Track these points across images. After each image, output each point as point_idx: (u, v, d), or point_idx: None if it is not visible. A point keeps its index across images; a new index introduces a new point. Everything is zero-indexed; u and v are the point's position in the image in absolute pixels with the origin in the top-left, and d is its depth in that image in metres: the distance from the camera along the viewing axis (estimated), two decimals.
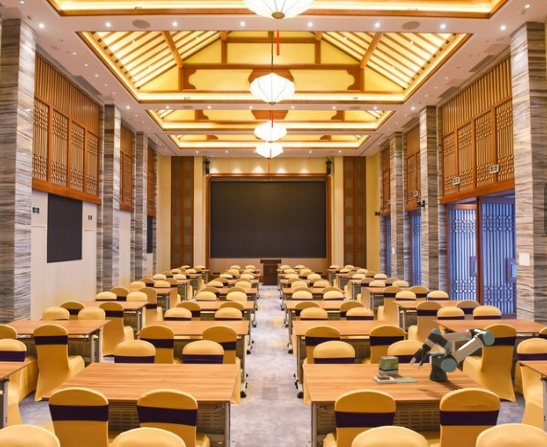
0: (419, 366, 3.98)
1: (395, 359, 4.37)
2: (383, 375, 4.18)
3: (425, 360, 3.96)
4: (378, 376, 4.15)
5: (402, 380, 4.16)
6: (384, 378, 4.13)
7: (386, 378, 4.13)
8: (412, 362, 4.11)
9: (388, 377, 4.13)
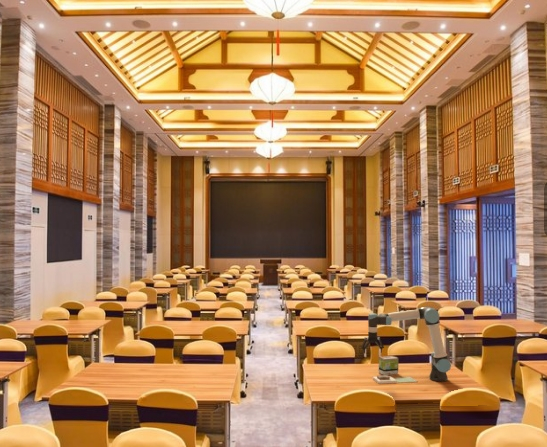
0: (364, 354, 4.14)
1: (395, 359, 4.37)
2: (383, 375, 4.18)
3: (362, 346, 4.13)
4: (378, 376, 4.15)
5: (402, 380, 4.16)
6: (384, 378, 4.13)
7: (386, 378, 4.13)
8: (379, 353, 4.16)
9: (388, 377, 4.13)
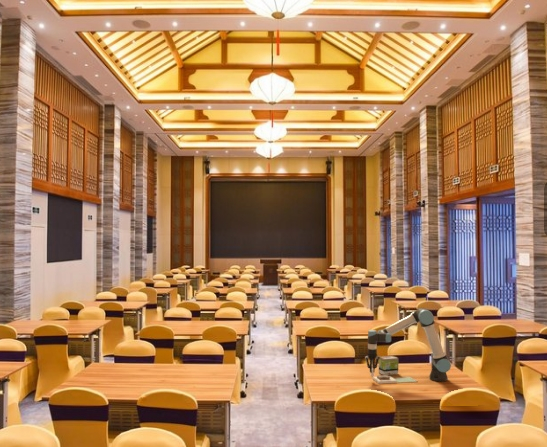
0: (371, 373, 4.14)
1: (395, 359, 4.37)
2: (383, 375, 4.18)
3: (367, 366, 4.14)
4: (378, 376, 4.15)
5: (402, 380, 4.16)
6: (384, 378, 4.13)
7: (386, 378, 4.13)
8: None
9: (388, 377, 4.13)
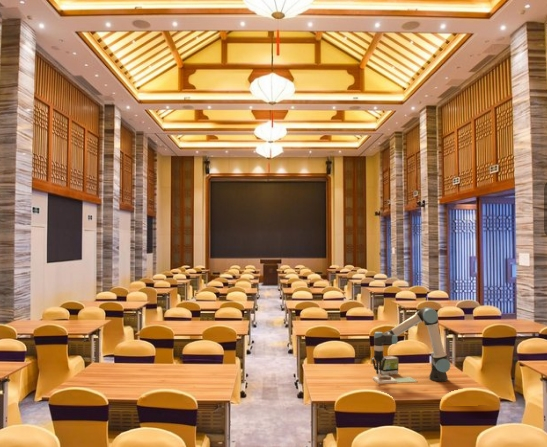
0: (377, 375, 4.15)
1: (395, 359, 4.37)
2: (384, 375, 4.19)
3: (374, 368, 4.15)
4: None
5: (402, 380, 4.16)
6: (385, 378, 4.13)
7: (387, 378, 4.13)
8: None
9: (389, 377, 4.14)
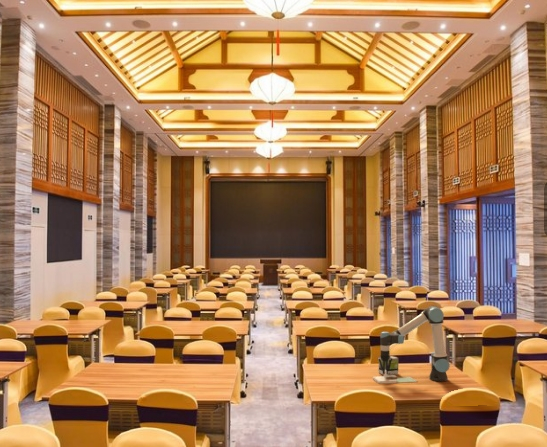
0: (384, 375, 4.16)
1: (395, 359, 4.37)
2: (390, 375, 4.19)
3: (380, 367, 4.16)
4: None
5: (402, 380, 4.16)
6: (392, 378, 4.14)
7: (394, 378, 4.14)
8: None
9: (396, 377, 4.14)
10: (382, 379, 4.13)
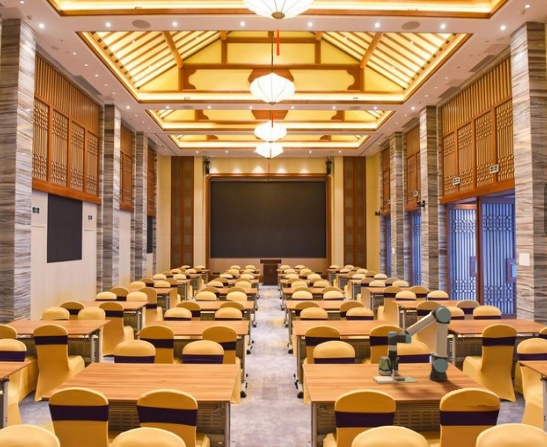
0: (392, 374, 4.17)
1: None
2: None
3: (388, 367, 4.17)
4: None
5: None
6: (399, 379, 4.15)
7: (401, 379, 4.15)
8: None
9: (403, 378, 4.16)
10: (382, 379, 4.13)
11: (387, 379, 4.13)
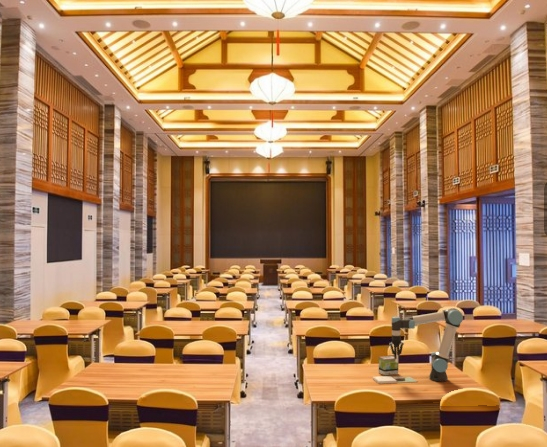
0: (396, 360, 4.18)
1: None
2: None
3: (392, 352, 4.18)
4: (393, 377, 4.17)
5: None
6: (399, 379, 4.15)
7: (401, 379, 4.15)
8: None
9: (403, 378, 4.16)
10: (382, 379, 4.13)
11: (387, 379, 4.13)
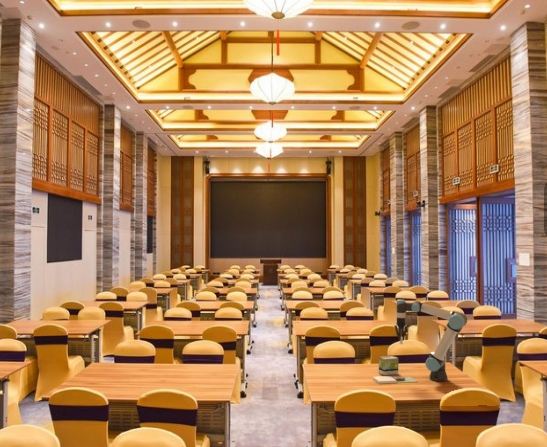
0: (400, 341, 4.28)
1: (395, 359, 4.37)
2: None
3: (397, 334, 4.28)
4: (393, 377, 4.17)
5: None
6: (399, 379, 4.15)
7: (401, 379, 4.15)
8: None
9: (403, 378, 4.16)
10: (382, 379, 4.13)
11: (387, 379, 4.13)
